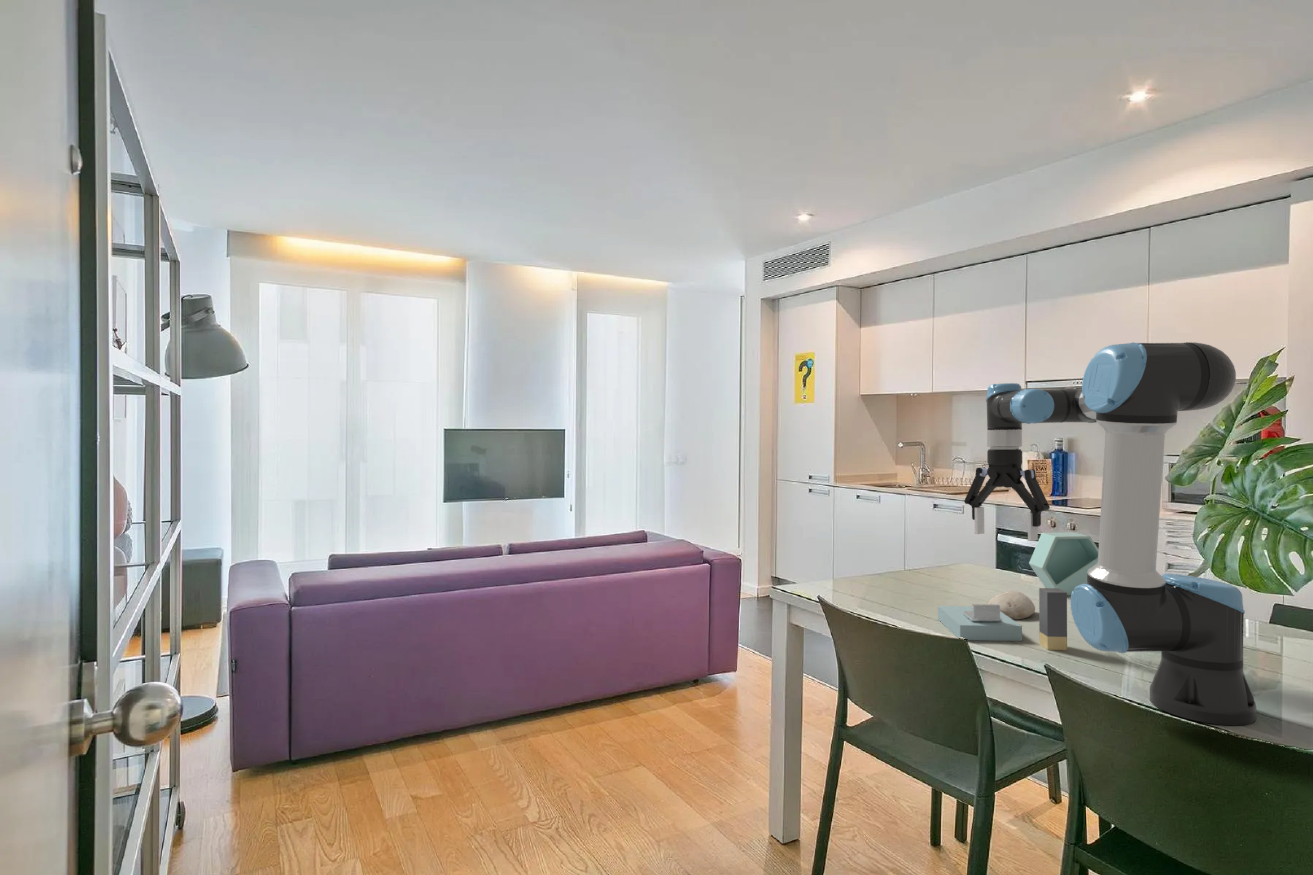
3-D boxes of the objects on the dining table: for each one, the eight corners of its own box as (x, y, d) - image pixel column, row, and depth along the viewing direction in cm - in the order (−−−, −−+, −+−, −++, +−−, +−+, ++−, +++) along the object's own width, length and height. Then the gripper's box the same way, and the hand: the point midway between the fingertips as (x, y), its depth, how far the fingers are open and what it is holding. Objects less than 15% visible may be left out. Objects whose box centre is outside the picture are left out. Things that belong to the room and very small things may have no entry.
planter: (1070, 610, 212) (1031, 552, 212) (1056, 604, 220) (1018, 548, 219) (1118, 578, 212) (1079, 520, 211) (1102, 573, 220) (1065, 517, 219)
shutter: (1001, 621, 172) (1001, 605, 171) (972, 621, 172) (972, 605, 172) (991, 613, 178) (991, 598, 178) (962, 613, 179) (962, 598, 179)
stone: (1007, 637, 187) (1024, 616, 183) (976, 610, 193) (991, 589, 189) (1031, 623, 195) (1047, 603, 191) (1000, 597, 201) (1015, 577, 197)
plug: (1067, 650, 161) (1066, 592, 161) (1047, 649, 162) (1047, 592, 162) (1058, 644, 166) (1058, 588, 165) (1039, 644, 166) (1039, 588, 166)
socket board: (1022, 640, 169) (1022, 625, 169) (960, 639, 170) (960, 625, 170) (993, 620, 187) (993, 606, 187) (937, 619, 188) (937, 606, 188)
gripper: (1065, 448, 163) (1066, 541, 164) (967, 447, 185) (968, 529, 185) (1047, 449, 159) (1047, 545, 160) (949, 447, 181) (949, 532, 181)
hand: (1005, 537), depth 172 cm, fingers open, 13 cm apart
